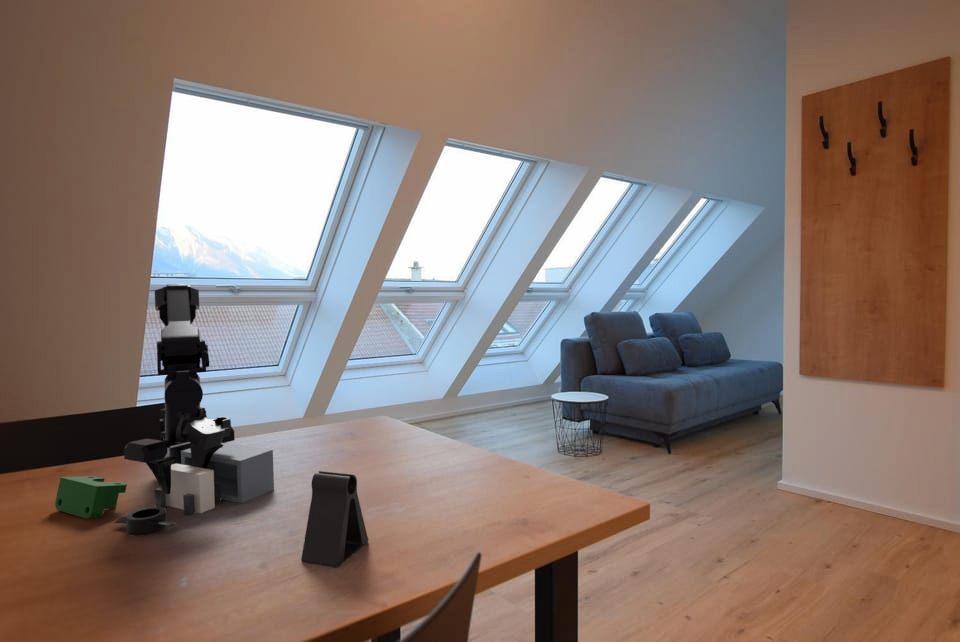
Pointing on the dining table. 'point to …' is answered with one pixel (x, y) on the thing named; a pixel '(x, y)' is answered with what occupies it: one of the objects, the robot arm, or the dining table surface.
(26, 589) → the dining table surface
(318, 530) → the phone stand
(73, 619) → the dining table surface
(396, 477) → the dining table surface
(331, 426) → the dining table surface
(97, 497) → the clamp
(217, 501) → the clip brackets
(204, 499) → the white block
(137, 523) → the dark grey tabbed ring
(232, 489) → the cabinet
